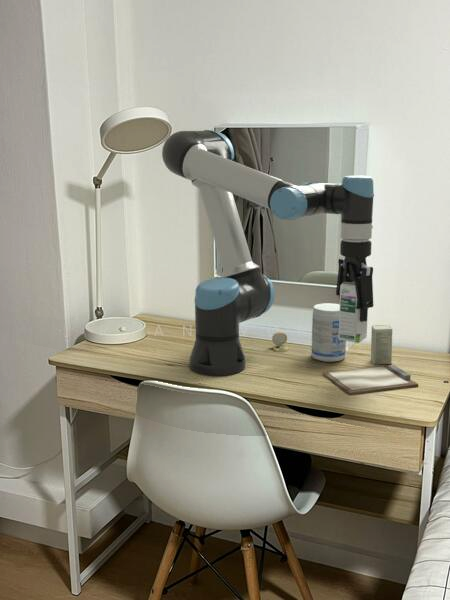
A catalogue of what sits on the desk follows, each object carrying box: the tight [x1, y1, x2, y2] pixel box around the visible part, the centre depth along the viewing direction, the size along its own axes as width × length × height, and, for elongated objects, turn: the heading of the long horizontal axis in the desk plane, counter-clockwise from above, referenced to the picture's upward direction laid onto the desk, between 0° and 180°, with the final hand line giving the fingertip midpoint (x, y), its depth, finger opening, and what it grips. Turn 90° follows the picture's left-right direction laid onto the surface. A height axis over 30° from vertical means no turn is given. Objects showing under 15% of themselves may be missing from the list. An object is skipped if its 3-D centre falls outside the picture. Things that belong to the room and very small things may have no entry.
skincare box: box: [370, 324, 393, 365], centre depth 192 cm, size 5×4×10 cm
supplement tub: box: [310, 302, 347, 363], centre depth 196 cm, size 10×10×15 cm
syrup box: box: [338, 282, 369, 344], centre depth 177 cm, size 6×6×14 cm
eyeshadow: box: [271, 331, 289, 353], centre depth 204 cm, size 4×5×5 cm
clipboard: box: [322, 364, 419, 396], centre depth 179 cm, size 15×19×2 cm
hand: (352, 328), depth 178 cm, fingers closed on syrup box, 8 cm apart
